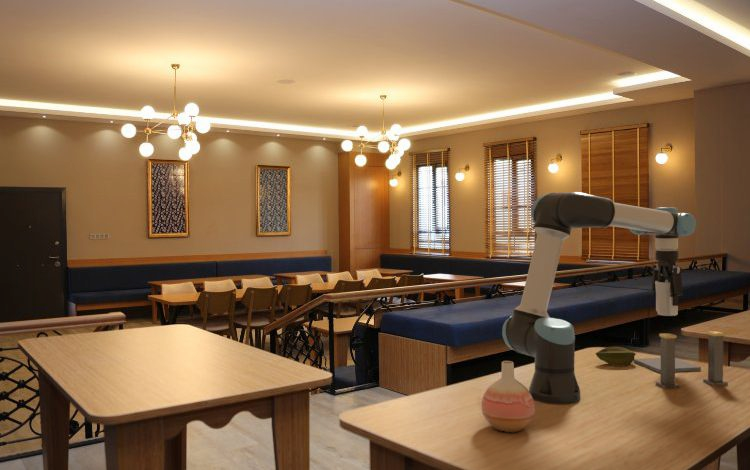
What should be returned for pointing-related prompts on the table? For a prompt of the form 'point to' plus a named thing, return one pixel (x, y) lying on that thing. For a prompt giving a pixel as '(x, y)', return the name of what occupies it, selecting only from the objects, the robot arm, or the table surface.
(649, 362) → the pad
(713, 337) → the post
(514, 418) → the vase
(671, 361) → the post
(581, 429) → the table surface
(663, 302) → the cup
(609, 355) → the fruit
